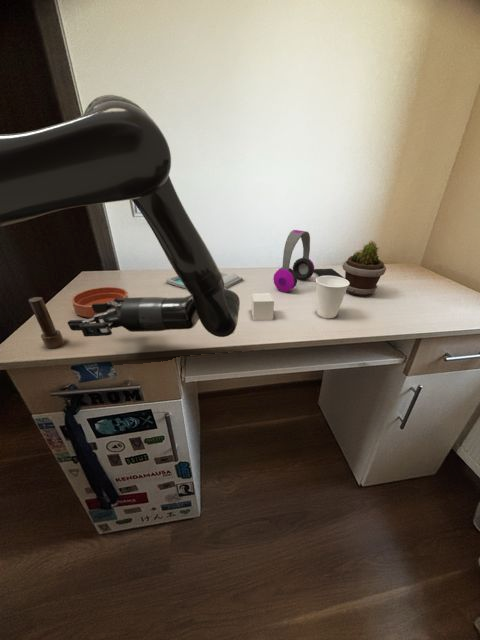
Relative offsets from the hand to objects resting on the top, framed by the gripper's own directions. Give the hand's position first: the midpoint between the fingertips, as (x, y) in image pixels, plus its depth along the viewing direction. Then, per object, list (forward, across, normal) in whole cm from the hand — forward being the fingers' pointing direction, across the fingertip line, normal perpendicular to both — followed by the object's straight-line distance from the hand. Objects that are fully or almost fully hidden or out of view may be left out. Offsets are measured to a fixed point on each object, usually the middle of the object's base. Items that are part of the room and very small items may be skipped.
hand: (82, 316), depth 64 cm
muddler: (+11, 0, +8) cm, 13 cm away
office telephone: (-12, -51, +11) cm, 53 cm away
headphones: (-47, -54, +15) cm, 73 cm away
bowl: (+11, -22, +8) cm, 26 cm away
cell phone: (-63, -65, +17) cm, 92 cm away
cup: (-58, -29, +16) cm, 67 cm away
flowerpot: (-72, -51, +18) cm, 90 cm away
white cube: (-38, -25, +14) cm, 47 cm away
